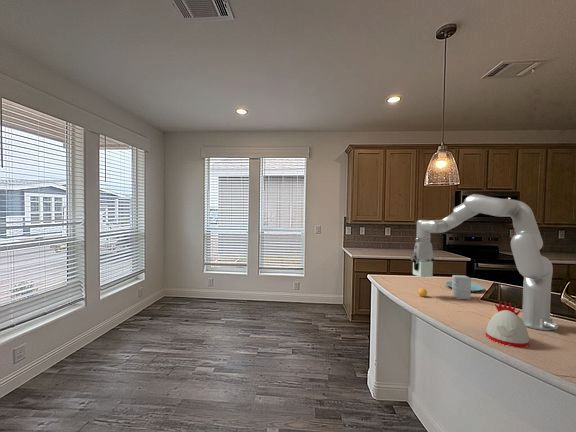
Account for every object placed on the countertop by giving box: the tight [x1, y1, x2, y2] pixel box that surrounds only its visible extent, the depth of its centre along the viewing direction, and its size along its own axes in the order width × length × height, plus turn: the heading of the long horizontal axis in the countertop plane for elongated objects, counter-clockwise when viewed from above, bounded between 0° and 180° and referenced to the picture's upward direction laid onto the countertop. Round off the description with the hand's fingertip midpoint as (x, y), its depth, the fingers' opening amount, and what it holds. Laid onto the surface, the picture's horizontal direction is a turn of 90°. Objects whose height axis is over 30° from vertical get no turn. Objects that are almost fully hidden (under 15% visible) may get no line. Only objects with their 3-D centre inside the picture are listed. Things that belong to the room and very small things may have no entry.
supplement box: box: [451, 274, 472, 300], centre depth 174 cm, size 7×7×13 cm
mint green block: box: [412, 260, 434, 278], centre depth 175 cm, size 8×8×9 cm
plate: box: [444, 280, 485, 293], centre depth 194 cm, size 22×22×3 cm
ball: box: [417, 287, 428, 298], centre depth 175 cm, size 5×5×5 cm
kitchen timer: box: [485, 301, 530, 348], centre depth 117 cm, size 14×14×15 cm
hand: (422, 269), depth 175 cm, fingers closed on mint green block, 7 cm apart
